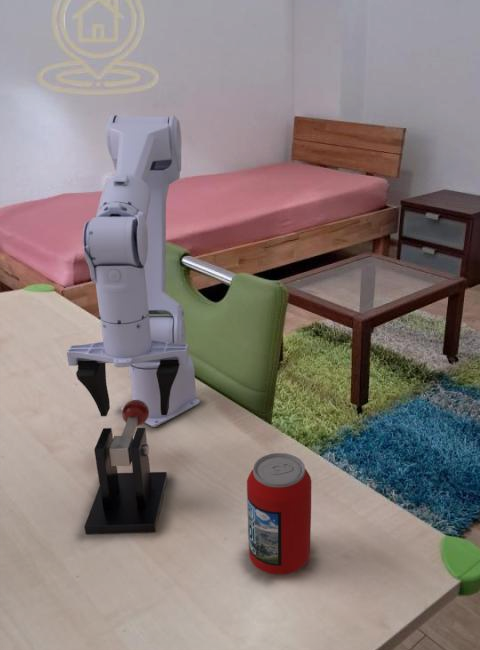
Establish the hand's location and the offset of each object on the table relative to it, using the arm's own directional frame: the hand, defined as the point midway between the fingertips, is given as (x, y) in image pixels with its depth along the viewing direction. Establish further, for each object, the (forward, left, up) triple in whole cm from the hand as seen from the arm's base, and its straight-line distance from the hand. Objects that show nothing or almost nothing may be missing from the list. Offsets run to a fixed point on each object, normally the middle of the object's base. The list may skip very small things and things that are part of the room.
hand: (135, 411), depth 82 cm
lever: (+3, +3, -2) cm, 4 cm away
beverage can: (+1, +26, -8) cm, 27 cm away
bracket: (+6, +6, -8) cm, 12 cm away
